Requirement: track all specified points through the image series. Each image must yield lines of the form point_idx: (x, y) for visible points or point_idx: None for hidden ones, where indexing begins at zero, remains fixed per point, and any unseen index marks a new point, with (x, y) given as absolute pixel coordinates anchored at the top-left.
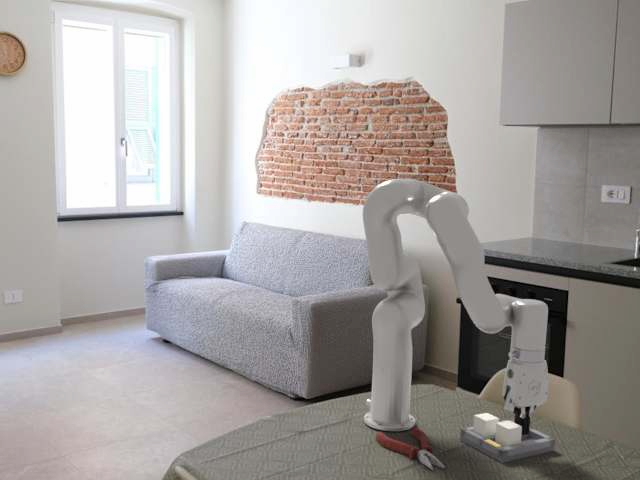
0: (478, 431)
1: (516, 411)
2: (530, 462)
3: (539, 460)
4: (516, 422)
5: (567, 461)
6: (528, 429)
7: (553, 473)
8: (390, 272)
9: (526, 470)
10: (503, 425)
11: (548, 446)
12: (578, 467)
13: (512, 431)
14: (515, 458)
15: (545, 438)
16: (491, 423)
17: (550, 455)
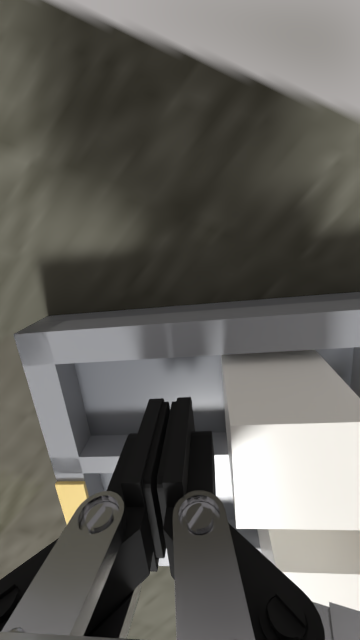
0: None
1: (296, 593)
2: (241, 247)
3: (183, 252)
4: (215, 489)
5: (58, 194)
6: (151, 414)
7: (225, 82)
8: None
9: (335, 170)
10: (355, 484)
11: (73, 320)
12: (45, 108)
13: (322, 407)
14: (291, 298)
15: (59, 359)
16: (334, 546)
17: (96, 280)
